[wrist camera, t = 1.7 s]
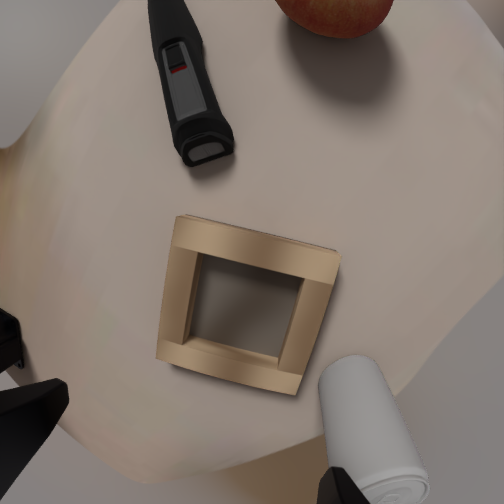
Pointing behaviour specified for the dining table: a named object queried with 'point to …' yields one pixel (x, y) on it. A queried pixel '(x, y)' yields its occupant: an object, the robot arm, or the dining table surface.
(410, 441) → the beverage can
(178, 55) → the electric trimmer
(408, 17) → the dining table surface
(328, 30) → the apple
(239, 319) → the socket block
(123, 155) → the dining table surface
